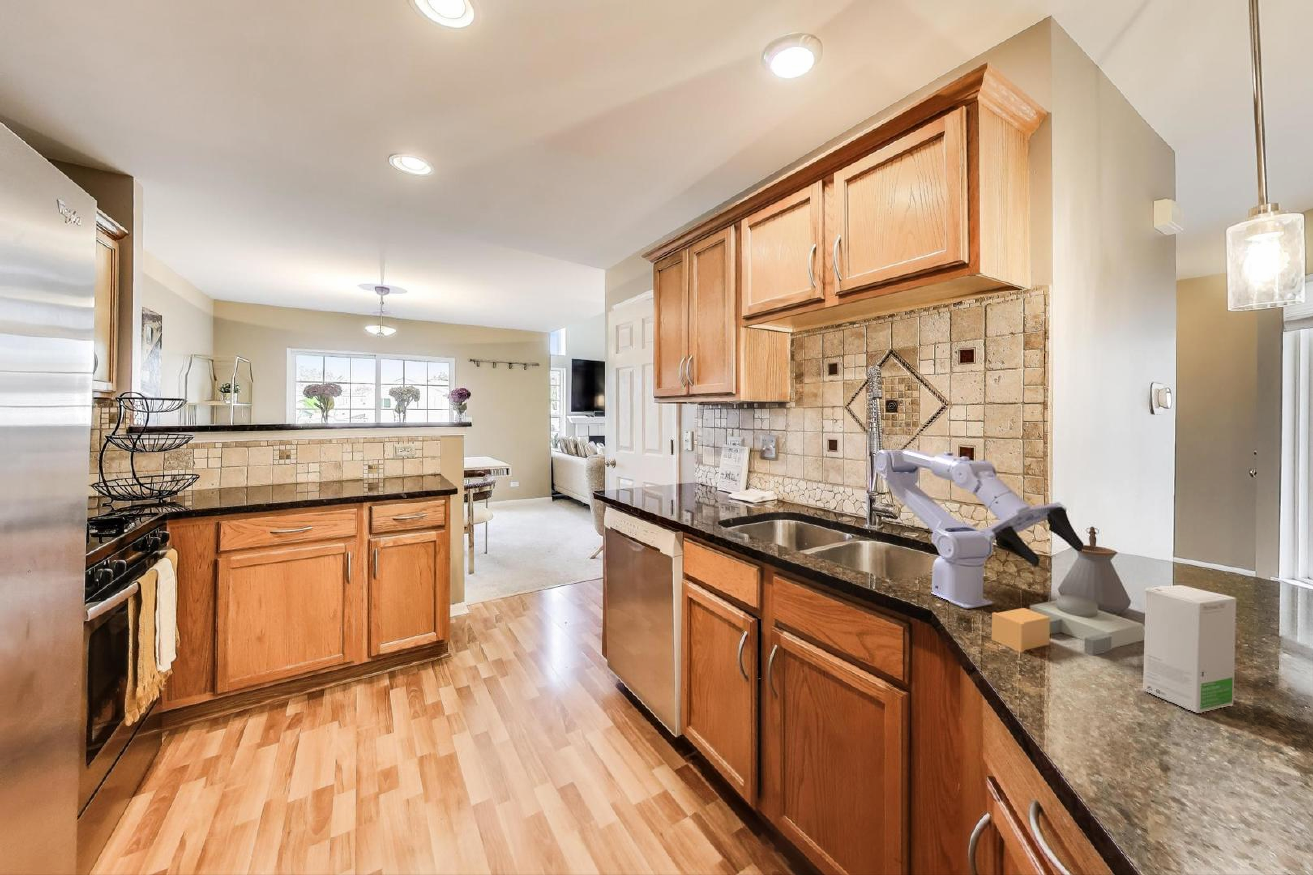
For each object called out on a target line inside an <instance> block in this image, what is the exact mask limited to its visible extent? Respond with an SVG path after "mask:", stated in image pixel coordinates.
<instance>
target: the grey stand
mask: <svg viewBox="0 0 1313 875" xmlns="http://www.w3.org/2000/svg"><path fill="white" fill-rule="evenodd" d="M1029 610H1031V611H1034V612H1037V613H1040V614H1042V615H1045V616H1048V617H1050V633H1049V636H1050V635H1054V634H1059V633H1064V634H1066V635H1069V636H1071V637H1074V638H1077V639H1079V640H1081V641H1084V643H1083V644H1084V645H1083V646H1084V648H1083V650H1084V651H1083V652H1084V653H1086V654H1089V655H1091V656H1096V655H1098V654H1102V653H1106V652H1111V651H1112V649H1114V648H1118V647H1122V646H1126V645H1130V644H1133V643H1138V642H1142V641H1144V623H1141V622H1137V621H1134V620H1132V619H1128V618H1124V617H1122V616H1119V615H1113V614H1109V613H1106V612H1103V611H1100V610H1098V604H1097V603H1096V602H1094V601H1092V600H1089V599H1085V598H1082V597H1077V596H1069V595H1060V594H1059V595H1057V596H1056V599H1055V600H1051V601H1045V602H1041V603H1036V604H1030V605H1029Z"/></svg>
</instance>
